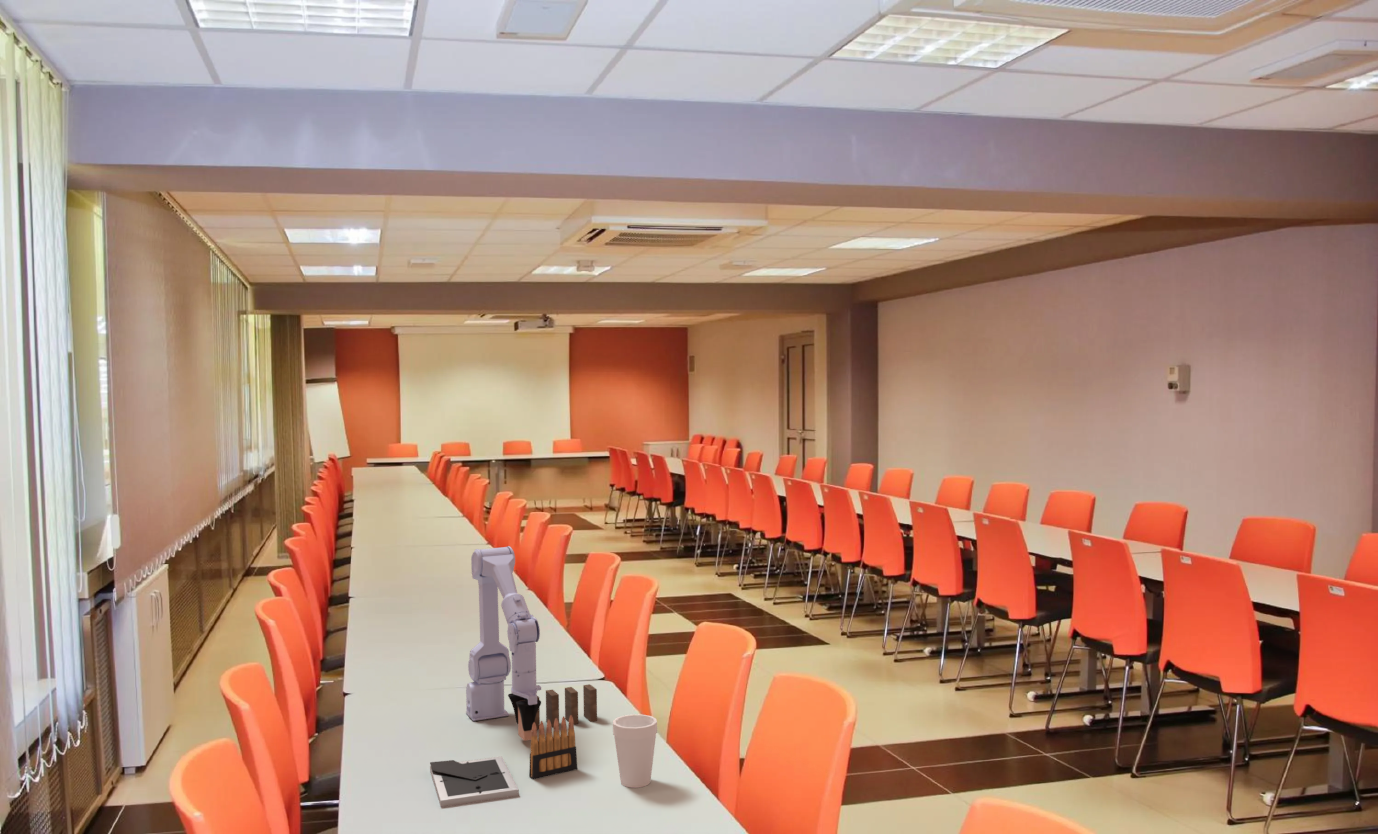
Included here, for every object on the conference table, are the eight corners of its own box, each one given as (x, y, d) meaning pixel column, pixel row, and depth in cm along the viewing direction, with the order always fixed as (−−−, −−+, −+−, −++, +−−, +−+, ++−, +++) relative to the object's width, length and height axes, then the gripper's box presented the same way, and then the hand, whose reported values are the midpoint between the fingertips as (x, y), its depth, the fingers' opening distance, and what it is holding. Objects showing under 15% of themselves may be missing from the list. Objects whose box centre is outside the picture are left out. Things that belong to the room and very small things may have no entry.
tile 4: (571, 724, 257) (571, 692, 257) (565, 718, 262) (564, 687, 262) (578, 723, 258) (577, 691, 258) (571, 717, 262) (571, 686, 262)
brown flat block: (590, 721, 259) (589, 690, 259) (583, 716, 264) (583, 685, 264) (597, 720, 260) (596, 689, 260) (590, 715, 265) (590, 684, 264)
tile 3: (552, 727, 255) (551, 695, 255) (546, 721, 260) (545, 690, 259) (559, 726, 256) (558, 694, 256) (553, 720, 260) (552, 689, 260)
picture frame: (430, 774, 226) (440, 810, 207) (430, 762, 226) (440, 796, 206) (502, 765, 231) (518, 799, 212) (501, 752, 231) (518, 785, 212)
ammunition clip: (532, 779, 221) (531, 724, 221) (529, 776, 222) (528, 721, 222) (577, 769, 227) (576, 715, 226) (573, 766, 228) (573, 713, 228)
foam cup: (637, 770, 225) (637, 711, 225) (666, 781, 219) (666, 720, 218) (604, 782, 219) (603, 721, 218) (633, 793, 212) (632, 731, 212)
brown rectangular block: (532, 730, 253) (532, 698, 253) (526, 724, 257) (526, 693, 257) (539, 729, 254) (539, 697, 254) (533, 723, 258) (533, 692, 258)
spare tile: (524, 740, 242) (523, 706, 242) (518, 734, 246) (517, 701, 246) (531, 739, 243) (531, 705, 242) (525, 733, 247) (525, 700, 247)
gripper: (549, 675, 239) (550, 733, 239) (531, 660, 252) (532, 715, 253) (519, 679, 236) (520, 737, 236) (503, 664, 249) (504, 719, 250)
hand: (524, 726), depth 244 cm, fingers closed on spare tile, 5 cm apart
